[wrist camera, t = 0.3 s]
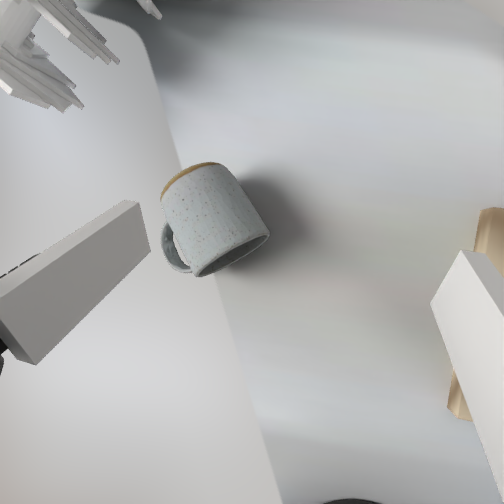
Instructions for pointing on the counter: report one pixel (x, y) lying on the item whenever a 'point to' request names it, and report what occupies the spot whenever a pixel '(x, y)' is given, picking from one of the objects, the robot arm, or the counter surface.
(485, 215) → the stick
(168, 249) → the ceramic mug
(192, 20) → the counter surface
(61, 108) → the spiral staircase
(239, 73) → the counter surface
